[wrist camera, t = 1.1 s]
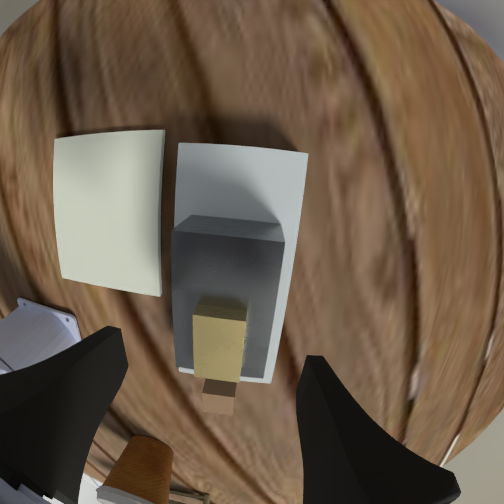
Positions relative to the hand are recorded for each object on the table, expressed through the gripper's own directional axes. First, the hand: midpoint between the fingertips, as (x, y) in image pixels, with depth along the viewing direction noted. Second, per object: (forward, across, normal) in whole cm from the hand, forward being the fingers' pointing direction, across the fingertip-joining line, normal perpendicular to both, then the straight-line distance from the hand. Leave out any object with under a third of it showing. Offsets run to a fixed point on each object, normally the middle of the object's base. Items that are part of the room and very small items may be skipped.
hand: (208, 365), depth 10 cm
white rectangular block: (+10, 0, 0) cm, 10 cm away
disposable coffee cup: (+10, +10, +29) cm, 32 cm away
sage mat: (+10, +10, -3) cm, 15 cm away
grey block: (+7, 0, 0) cm, 7 cm away
